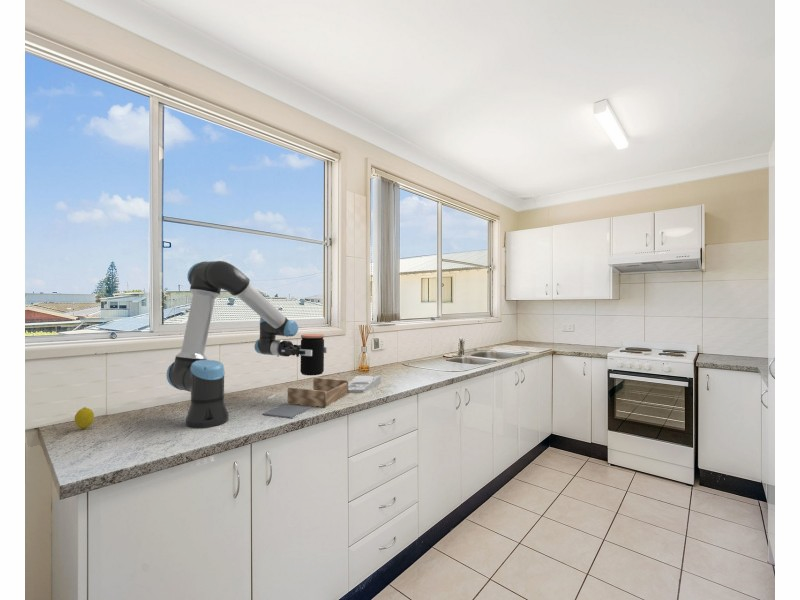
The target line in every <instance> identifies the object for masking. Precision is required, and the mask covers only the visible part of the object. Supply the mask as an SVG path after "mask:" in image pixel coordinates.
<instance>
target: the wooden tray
mask: <svg viewBox="0 0 800 600" xmlns="http://www.w3.org/2000/svg"><path fill="white" fill-rule="evenodd" d="M312 381H313V383H312V385H313V386H312V387H313V388H312V389H308V388H307V389H306V388H296V387H287V404H288V403H290V404H289V405H297V404H300V405H299V406H307V405H310V406H309V407H316V406H319V407H318V408H326V406H327V407H328V406H330V405H332V404H333V402H334V403H336V402H337V401H338V399H339V400H341V399H342V398H344V397H346V396H348V395H349V393H348V383H349V380H348V379H336V378H324V377H313V379H312ZM340 398H341V399H340ZM331 403H332V404H331ZM329 404H330V405H329Z"/></svg>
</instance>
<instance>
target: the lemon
mask: <svg viewBox="0 0 800 600" xmlns="http://www.w3.org/2000/svg"><path fill="white" fill-rule="evenodd" d="M94 419H95V413H94V412H93V410H92V409H91V408H89V407H85V406H84V407H82V408H80V409H79V410H77V412H76V414H75V415H74V423H75V425H76V427H78V428H81V429H83V430H86V429H87V428H88V427H89V426H91V425H92V424H93V422H94Z"/></svg>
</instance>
